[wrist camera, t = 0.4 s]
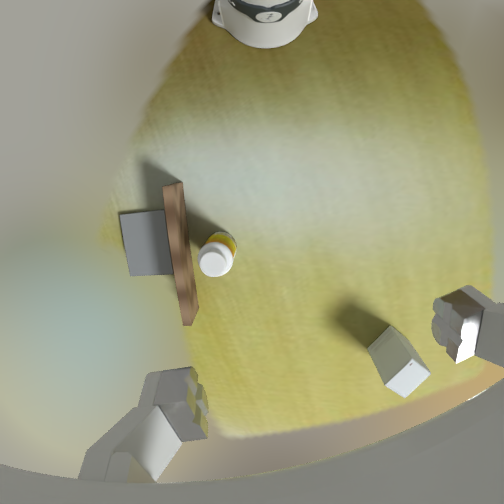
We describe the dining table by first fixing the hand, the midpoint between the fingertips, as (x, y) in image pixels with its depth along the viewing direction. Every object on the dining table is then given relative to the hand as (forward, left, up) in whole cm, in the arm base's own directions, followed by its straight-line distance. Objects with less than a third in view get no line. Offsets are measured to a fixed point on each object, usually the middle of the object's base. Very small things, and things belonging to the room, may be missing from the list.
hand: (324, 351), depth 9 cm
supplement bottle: (+9, -10, -46) cm, 48 cm away
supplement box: (+33, +23, -46) cm, 61 cm away
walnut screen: (+9, -17, -46) cm, 50 cm away
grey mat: (+7, -24, -46) cm, 53 cm away
